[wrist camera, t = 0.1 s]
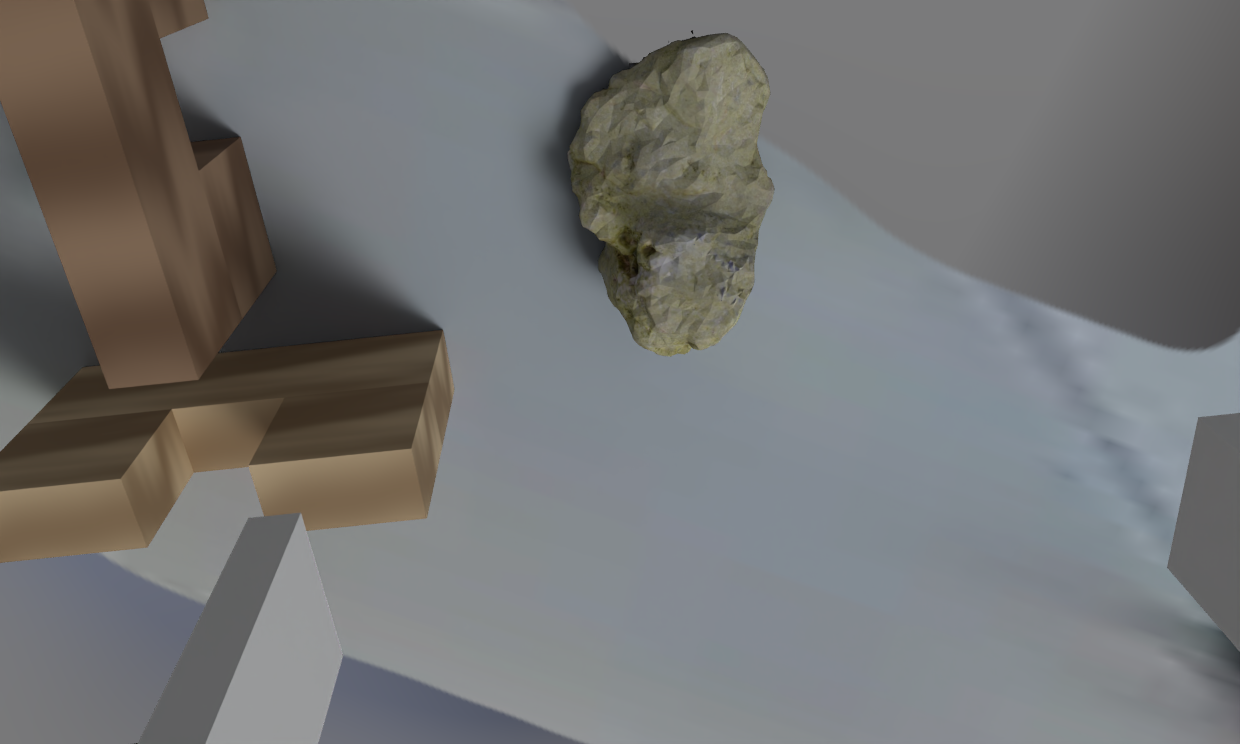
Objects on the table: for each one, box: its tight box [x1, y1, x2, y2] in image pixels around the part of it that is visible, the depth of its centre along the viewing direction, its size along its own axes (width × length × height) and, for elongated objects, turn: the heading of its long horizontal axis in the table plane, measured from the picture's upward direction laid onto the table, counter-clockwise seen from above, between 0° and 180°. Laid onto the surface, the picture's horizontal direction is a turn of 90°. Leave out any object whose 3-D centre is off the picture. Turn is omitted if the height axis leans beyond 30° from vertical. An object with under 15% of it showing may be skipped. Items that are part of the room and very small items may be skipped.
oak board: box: [0, 330, 454, 563], centre depth 39 cm, size 3×16×10 cm, turn 95°
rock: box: [567, 31, 774, 357], centre depth 38 cm, size 11×6×10 cm
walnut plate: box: [0, 0, 277, 389], centre depth 33 cm, size 16×3×10 cm, turn 5°
